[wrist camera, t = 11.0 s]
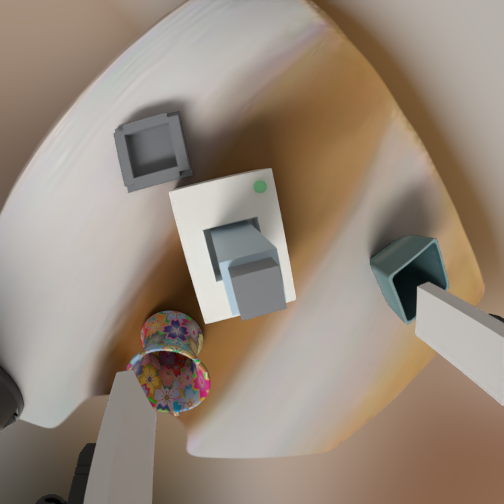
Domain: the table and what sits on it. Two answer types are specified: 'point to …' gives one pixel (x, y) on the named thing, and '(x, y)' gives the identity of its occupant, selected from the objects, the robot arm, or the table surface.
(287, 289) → the port panel
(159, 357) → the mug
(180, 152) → the holster
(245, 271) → the plug
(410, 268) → the flower pot
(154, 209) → the table surface
